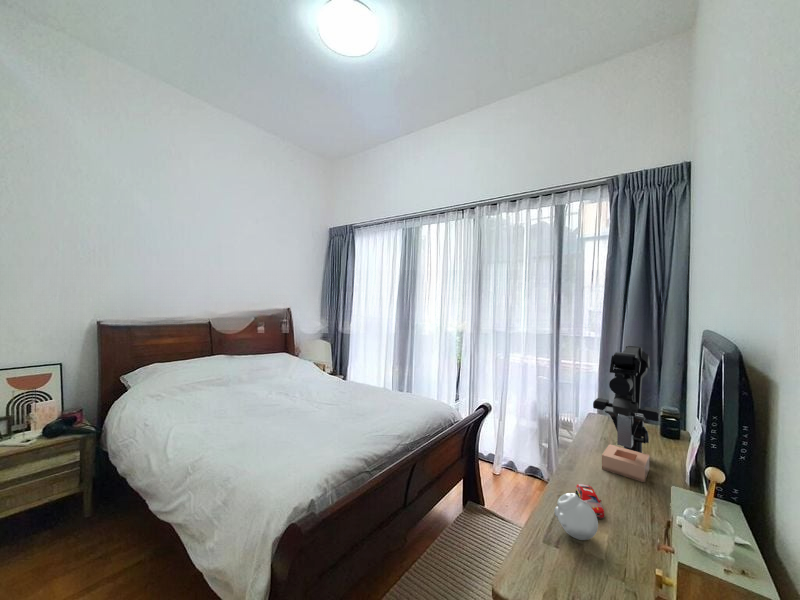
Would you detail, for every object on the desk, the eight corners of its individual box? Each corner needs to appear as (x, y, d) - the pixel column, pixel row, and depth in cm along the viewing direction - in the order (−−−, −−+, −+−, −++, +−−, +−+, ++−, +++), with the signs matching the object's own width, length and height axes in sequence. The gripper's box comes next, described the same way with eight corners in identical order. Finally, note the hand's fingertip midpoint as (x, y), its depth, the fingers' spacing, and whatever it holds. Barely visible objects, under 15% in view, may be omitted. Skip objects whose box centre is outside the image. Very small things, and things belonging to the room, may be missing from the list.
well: (609, 457, 119) (609, 444, 119) (649, 469, 111) (649, 455, 111) (601, 469, 111) (601, 454, 111) (644, 482, 102) (644, 467, 103)
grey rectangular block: (619, 440, 114) (619, 413, 114) (633, 444, 111) (633, 416, 111) (617, 444, 111) (617, 416, 111) (631, 448, 108) (631, 419, 108)
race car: (606, 523, 84) (606, 508, 84) (583, 518, 85) (583, 504, 85) (594, 495, 96) (594, 481, 96) (574, 491, 98) (574, 478, 98)
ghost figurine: (562, 517, 85) (562, 480, 85) (602, 536, 78) (602, 496, 78) (548, 533, 79) (548, 493, 79) (591, 556, 72) (590, 512, 72)
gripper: (589, 388, 112) (589, 432, 112) (656, 399, 99) (656, 449, 98) (596, 382, 120) (597, 423, 119) (660, 392, 107) (660, 438, 106)
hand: (625, 433), depth 111 cm, fingers closed on grey rectangular block, 4 cm apart
